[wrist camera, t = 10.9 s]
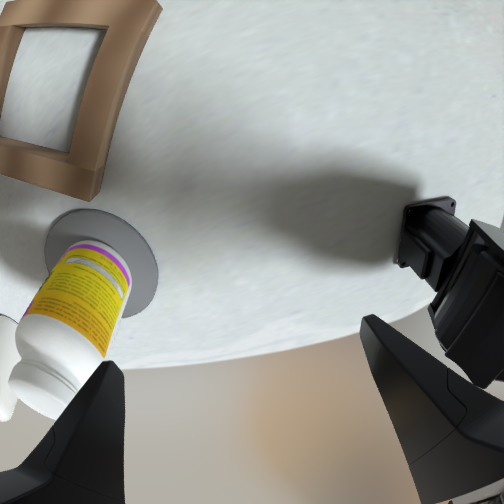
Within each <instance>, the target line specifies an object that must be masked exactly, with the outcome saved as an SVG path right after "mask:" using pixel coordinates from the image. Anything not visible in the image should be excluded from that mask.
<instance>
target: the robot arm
mask: <svg viewBox="0 0 504 504" xmlns="http://www.w3.org/2000/svg"><path fill="white" fill-rule="evenodd" d="M451 203H452V204H451ZM455 207H456V201H455V200H454V199H452V198H448V199H442V200H436V201H430V202H424V203H418V204H412V205H407V206H406V207H405V209H404V214H403V225H402V231H401V240H400V247H399V257H398V265H399V267H400V268H405V267H408V266H410V267H411V268H412V269H413V270H414V272H415V273H416V274H417V275H418V276H419V277H420V278H421V279H425V280H426V281H427V283H428V284H429V285H430V286H431V287H432V289H433V290H434V291H435V292H438V293H437V294H436V296H435V298H434V300H433V301H432V303H430V305H429V307H428V312H429V314H430V317H431V320H432V323H433V326H434V329H435V335H436V337H437V339H438V341H439V343H440V345H441V347H442V349H443V350H444V351H445V352H446V353H445V356H446V357H447V358H449V359H451V360H452V361H454V362H455V363H456V364H457V365H458V366H459V367H460V368H462V370H463V371H464V372H465V373H466V374H467V376H468V377H469V379H470V380H471V382H472V383H473V384H472V383H470V382H469V381H467V380H466V379H464V378H463V377H461V376H460V375H458V374H457V373H455V372H454V371H453V370H451V369H450V368H447V366H446V365H444V364H443V363H441V362H440V361H439V360H437V359H436V358H435V357H433V356H432V355H431V354H429V353H428V352H426V351H425V350H424V349H422V348H421V347H419V346H418V345H417V344H415V343H414V342H412V341H411V340H410V339H408V338H407V337H405V336H404V335H402V334H401V333H400V332H398V331H397V330H396V329H394V328H393V327H391V326H390V325H389V324H387V323H386V322H384V321H383V320H381V319H380V318H379V317H377V316H376V315H374V314H371V315H367V316H364V317H363V318H362V321H361V327H360V338H361V341H362V344H363V348H364V351H365V354H366V357H367V360H368V364H369V367H370V370H371V373H372V376H373V378H374V380H375V383H376V385H377V388H378V390H379V392H380V394H381V397H382V399H383V402H384V404H385V406H386V409H387V411H388V413H389V416H390V419H391V421H392V424H393V426H394V429H395V431H396V433H397V436H398V439H399V441H400V444H401V446H402V449H403V452H404V454H405V457H406V460H407V463H408V465H409V469H410V471H411V474H412V477H413V480H414V483H415V486H416V489H417V492H418V494H419V498H420V501H421V504H436V503H440V502H443V501H446V500H450V499H452V500H451V501H449V503H448V504H504V401H502V400H500V399H498V398H496V397H495V396H492V395H491V394H489V393H487V392H486V391H484V390H482V389H485V388H487V387H488V386H489V385H490V384H491V382H492V381H493V380H495V381H502V382H504V232H503V231H502V230H500V229H499V228H497V227H495V226H493V225H490V224H487V223H483V222H480V221H477V220H474V219H471V221H470V224H469V226H467V225H466V224H465V223H463V222H462V221H461V220H459V219H458V218H457V217H455V216H454V213H455ZM409 210H410V212H409ZM408 212H409V213H408ZM479 387H480V388H479ZM481 388H482V389H481ZM124 392H125V391H124V375H123V372H122V371H121V370H120V369H119V368H118V366H117V365H116V364H115V363H114V362H113V361H111V360H109V361H102V362H101V363H100V365H99V366H98V367H97V368H96V370H95V371H94V372H93V373H92V375H91V376H90V377H89V378H88V380H87V381H86V382H85V384H84V385H83V386H82V387H81V389H80V390H79V391H78V393H77V394H76V395H75V396H74V398H73V399H72V400H71V402H70V403H69V404H68V406H67V407H66V408H65V410H64V411H63V412H62V414H61V415H60V416H59V418H58V419H57V420H56V422H55V423H54V425H53V426H52V427H51V428H50V430H49V431H48V432H47V434H46V435H45V436H44V438H43V439H42V440H41V442H40V443H39V444H38V445H37V446H36V448H35V449H34V450H33V451H32V452H31V453H30V454H29V456H28V457H27V458H26V459H25V460H24V461H23V462H22V464H20V465H19V466H18V467H16V468H14V469H11V470H7V471H3V472H0V504H125V494H124V427H125V426H124V425H125V395H124V394H125V393H124Z"/></svg>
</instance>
